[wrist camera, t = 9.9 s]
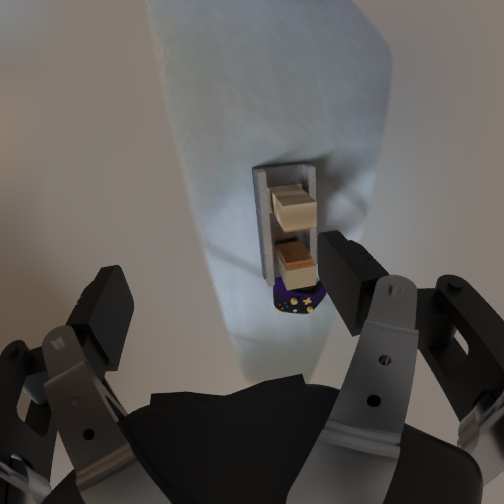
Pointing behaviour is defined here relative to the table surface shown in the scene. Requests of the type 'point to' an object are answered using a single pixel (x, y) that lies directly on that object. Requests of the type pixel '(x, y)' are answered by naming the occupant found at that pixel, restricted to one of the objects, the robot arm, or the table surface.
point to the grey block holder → (272, 235)
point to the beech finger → (294, 209)
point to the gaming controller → (296, 298)
